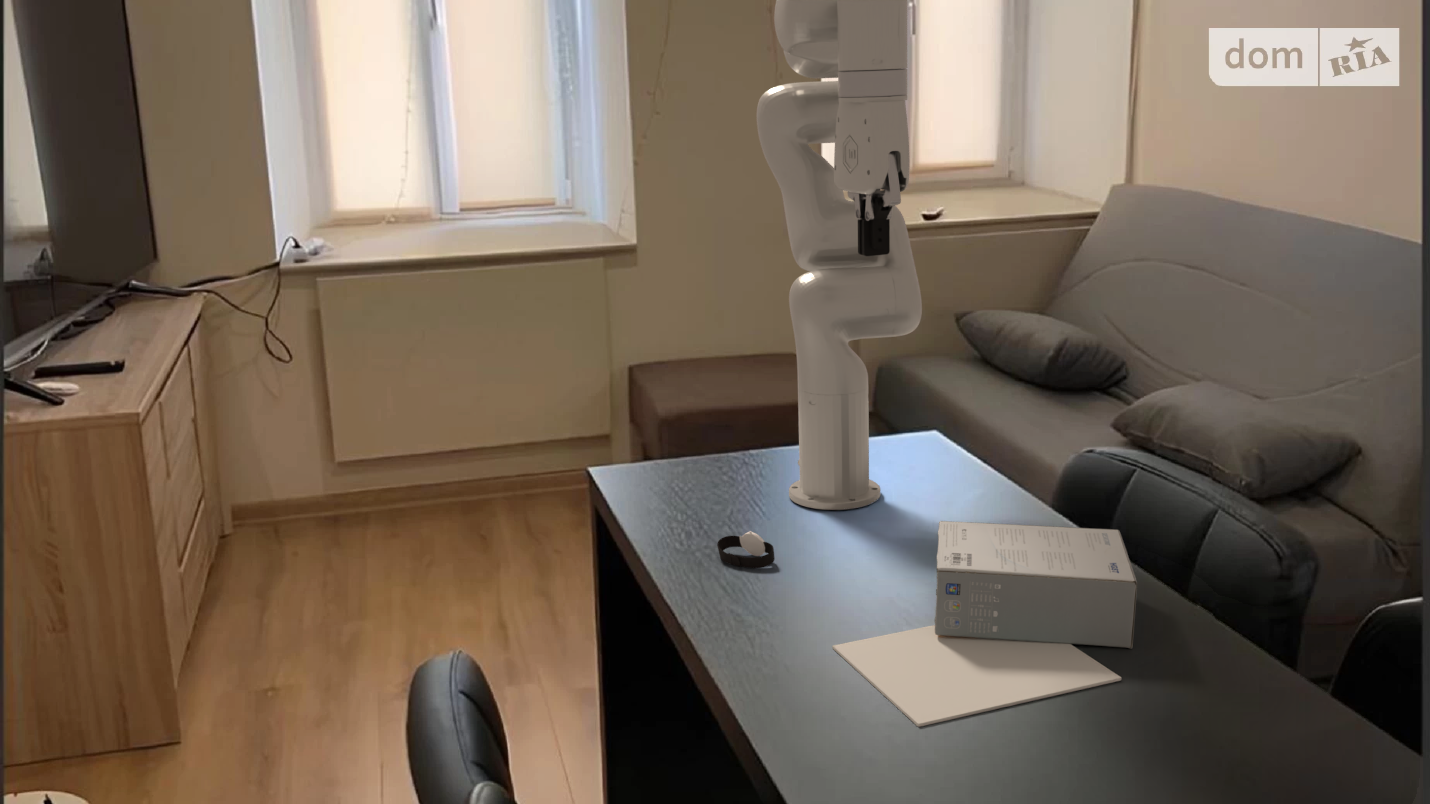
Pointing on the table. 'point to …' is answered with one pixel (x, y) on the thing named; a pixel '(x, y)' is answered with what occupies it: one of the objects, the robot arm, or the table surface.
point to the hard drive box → (1034, 584)
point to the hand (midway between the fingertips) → (873, 254)
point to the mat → (968, 672)
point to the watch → (751, 545)
